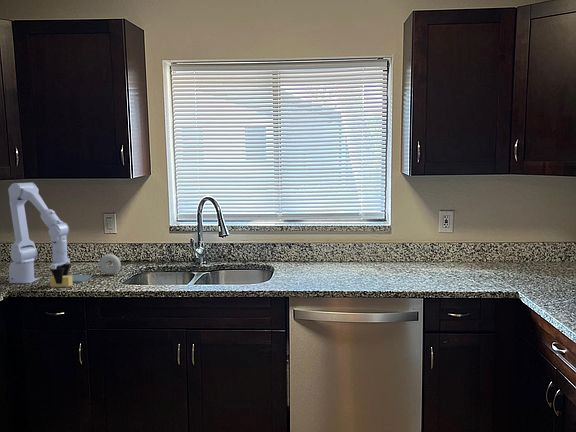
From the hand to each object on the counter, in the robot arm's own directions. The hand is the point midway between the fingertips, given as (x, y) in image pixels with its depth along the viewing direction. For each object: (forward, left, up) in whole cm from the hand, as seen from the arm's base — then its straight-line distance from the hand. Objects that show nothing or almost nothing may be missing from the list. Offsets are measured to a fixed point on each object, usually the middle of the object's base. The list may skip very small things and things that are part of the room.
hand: (61, 282), depth 221 cm
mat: (0, +11, -1) cm, 11 cm away
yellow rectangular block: (0, 0, -1) cm, 1 cm away
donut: (+14, +21, -2) cm, 25 cm away
